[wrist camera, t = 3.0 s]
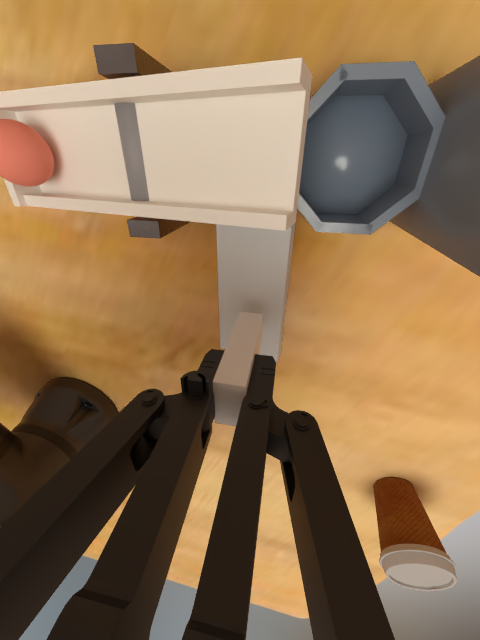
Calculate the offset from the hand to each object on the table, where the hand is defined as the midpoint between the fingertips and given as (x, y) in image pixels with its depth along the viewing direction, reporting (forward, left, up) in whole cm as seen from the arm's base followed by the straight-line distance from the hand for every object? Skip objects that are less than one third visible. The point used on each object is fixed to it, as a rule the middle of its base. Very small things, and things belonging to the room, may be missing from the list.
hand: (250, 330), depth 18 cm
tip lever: (-8, +5, -6) cm, 11 cm away
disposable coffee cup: (+24, -39, -15) cm, 48 cm away
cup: (+6, +10, -15) cm, 19 cm away
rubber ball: (-17, +10, -4) cm, 20 cm away
